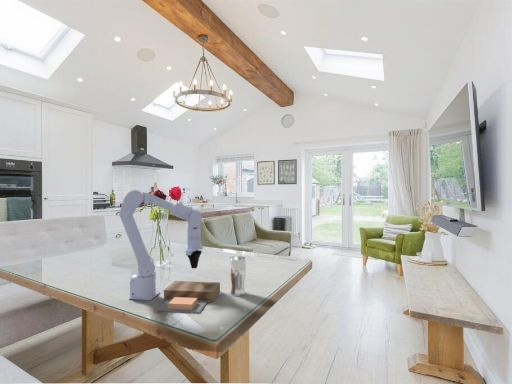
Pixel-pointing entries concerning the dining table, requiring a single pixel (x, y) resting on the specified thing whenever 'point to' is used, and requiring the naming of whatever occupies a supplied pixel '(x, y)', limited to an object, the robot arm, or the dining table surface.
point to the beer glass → (237, 275)
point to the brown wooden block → (193, 290)
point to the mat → (196, 309)
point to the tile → (182, 303)
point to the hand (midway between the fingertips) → (194, 267)
